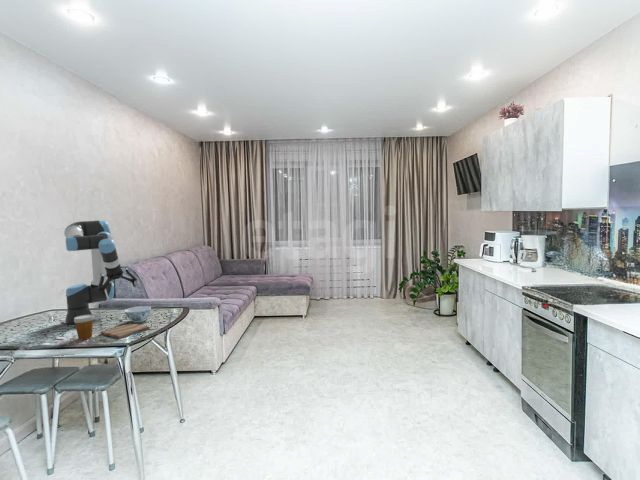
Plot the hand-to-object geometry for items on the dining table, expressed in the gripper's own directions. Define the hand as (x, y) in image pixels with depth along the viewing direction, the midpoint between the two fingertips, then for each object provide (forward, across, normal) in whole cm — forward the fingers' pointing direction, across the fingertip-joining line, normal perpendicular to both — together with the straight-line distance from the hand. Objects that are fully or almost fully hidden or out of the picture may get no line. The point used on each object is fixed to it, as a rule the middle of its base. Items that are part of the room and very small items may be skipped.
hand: (120, 294), depth 224 cm
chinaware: (+26, +6, +1) cm, 27 cm away
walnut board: (+15, -3, -16) cm, 22 cm away
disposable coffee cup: (+12, -22, -13) cm, 29 cm away
